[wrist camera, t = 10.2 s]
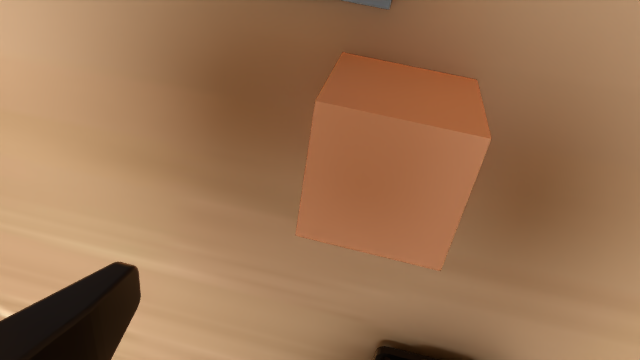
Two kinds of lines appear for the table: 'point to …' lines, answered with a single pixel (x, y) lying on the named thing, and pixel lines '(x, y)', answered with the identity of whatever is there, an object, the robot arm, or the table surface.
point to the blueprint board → (373, 3)
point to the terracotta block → (392, 159)
